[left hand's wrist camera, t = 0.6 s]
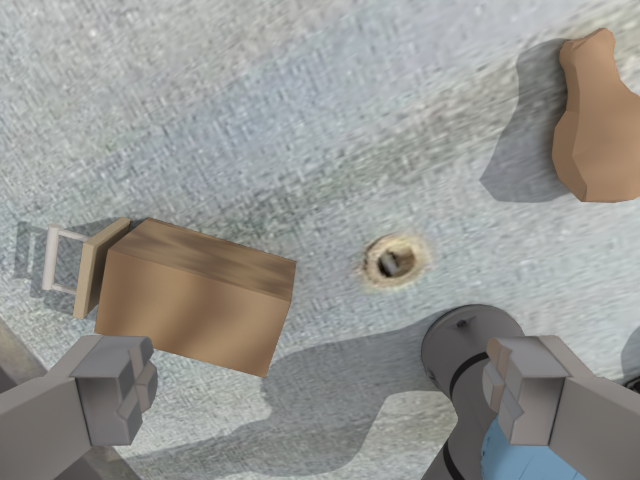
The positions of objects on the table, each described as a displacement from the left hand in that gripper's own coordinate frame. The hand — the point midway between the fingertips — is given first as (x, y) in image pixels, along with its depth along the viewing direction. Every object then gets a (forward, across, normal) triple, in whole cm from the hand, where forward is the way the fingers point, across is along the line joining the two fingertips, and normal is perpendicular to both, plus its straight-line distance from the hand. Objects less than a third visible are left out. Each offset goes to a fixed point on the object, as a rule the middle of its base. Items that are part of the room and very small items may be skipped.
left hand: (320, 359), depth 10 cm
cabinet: (+46, +15, +19) cm, 52 cm away
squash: (+46, -32, -2) cm, 57 cm away
